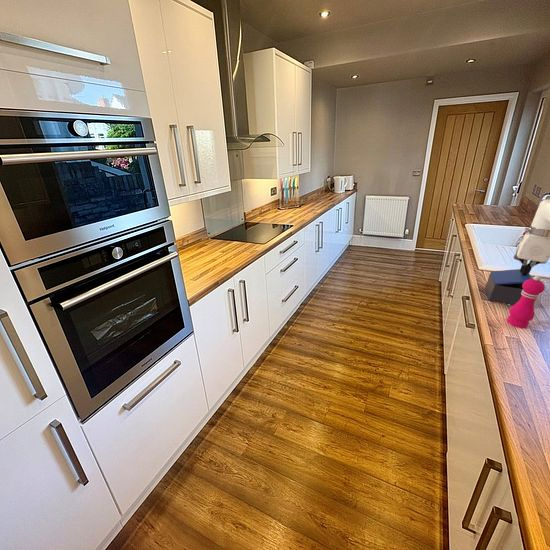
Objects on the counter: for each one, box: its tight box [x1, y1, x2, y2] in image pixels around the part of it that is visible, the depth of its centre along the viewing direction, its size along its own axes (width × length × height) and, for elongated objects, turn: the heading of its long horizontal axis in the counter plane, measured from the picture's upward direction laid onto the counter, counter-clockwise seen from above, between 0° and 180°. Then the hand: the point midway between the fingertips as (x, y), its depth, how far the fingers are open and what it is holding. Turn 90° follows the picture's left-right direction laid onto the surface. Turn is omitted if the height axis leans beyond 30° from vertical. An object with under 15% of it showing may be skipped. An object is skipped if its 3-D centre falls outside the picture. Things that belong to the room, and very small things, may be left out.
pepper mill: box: [506, 275, 546, 329], centre depth 106 cm, size 7×7×20 cm
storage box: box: [484, 272, 524, 306], centre depth 127 cm, size 12×14×8 cm
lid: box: [490, 268, 534, 285], centre depth 124 cm, size 12×14×1 cm
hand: (523, 273), depth 122 cm, fingers closed
